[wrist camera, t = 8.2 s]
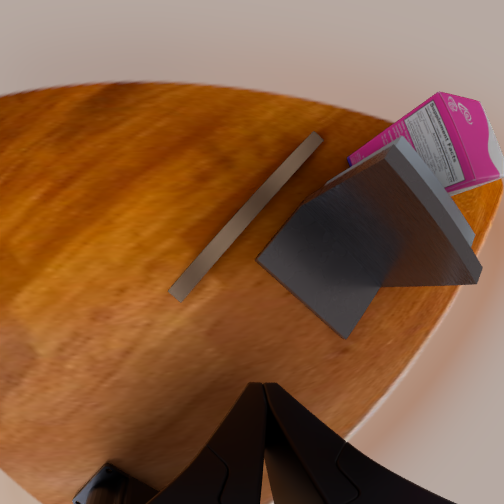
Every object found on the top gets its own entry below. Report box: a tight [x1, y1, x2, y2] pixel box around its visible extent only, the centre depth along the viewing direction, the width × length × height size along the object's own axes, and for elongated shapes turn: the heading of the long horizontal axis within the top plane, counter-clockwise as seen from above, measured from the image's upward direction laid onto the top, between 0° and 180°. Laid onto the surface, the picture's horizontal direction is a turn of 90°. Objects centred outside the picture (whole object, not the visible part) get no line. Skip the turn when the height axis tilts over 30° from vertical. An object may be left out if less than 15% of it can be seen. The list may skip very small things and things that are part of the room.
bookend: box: [255, 144, 482, 339], centre depth 17 cm, size 6×9×10 cm
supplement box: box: [347, 92, 504, 196], centre depth 19 cm, size 6×6×12 cm
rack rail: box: [168, 131, 324, 302], centre depth 20 cm, size 15×1×2 cm, turn 140°
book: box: [323, 136, 475, 247], centre depth 19 cm, size 2×8×9 cm, turn 50°
